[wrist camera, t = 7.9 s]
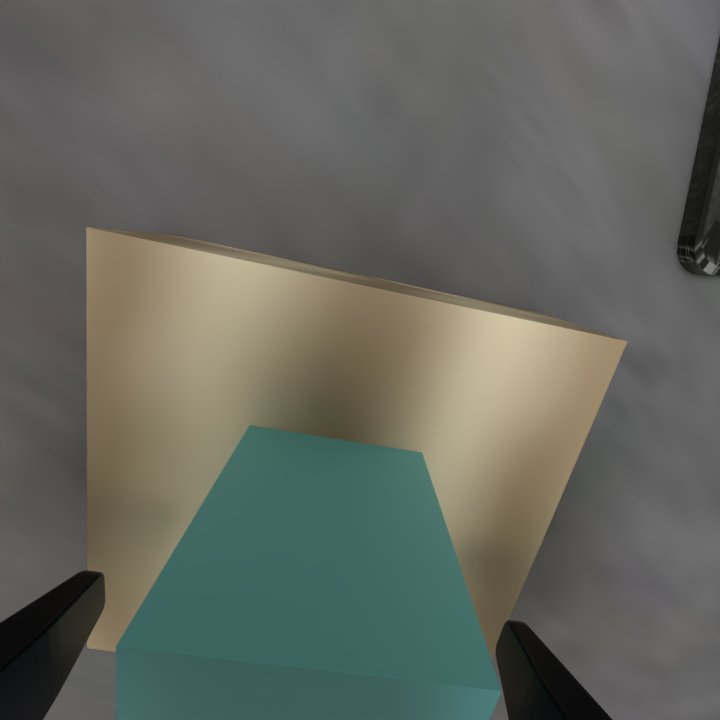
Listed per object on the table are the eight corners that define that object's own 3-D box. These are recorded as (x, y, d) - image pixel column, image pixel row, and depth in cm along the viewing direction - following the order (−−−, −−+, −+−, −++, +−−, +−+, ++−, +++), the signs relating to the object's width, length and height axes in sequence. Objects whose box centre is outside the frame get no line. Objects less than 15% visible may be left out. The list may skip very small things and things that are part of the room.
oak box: (161, 538, 17) (87, 648, 13) (181, 235, 14) (86, 227, 9) (443, 582, 18) (474, 699, 14) (537, 311, 15) (627, 341, 10)
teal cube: (234, 564, 12) (117, 869, 6) (249, 424, 10) (115, 646, 5) (387, 585, 12) (417, 891, 6) (422, 452, 11) (501, 691, 5)
